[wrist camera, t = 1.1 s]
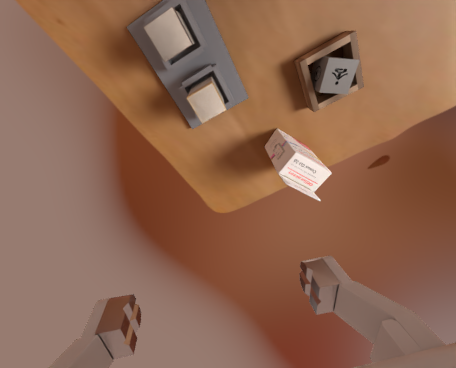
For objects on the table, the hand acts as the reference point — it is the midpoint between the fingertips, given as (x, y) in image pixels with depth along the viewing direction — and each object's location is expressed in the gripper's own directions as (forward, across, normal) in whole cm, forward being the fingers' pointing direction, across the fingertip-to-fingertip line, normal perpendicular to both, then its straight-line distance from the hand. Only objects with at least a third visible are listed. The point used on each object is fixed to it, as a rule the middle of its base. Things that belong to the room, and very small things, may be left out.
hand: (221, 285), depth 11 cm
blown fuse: (+33, +1, -16) cm, 37 cm away
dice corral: (+33, -24, -8) cm, 42 cm away
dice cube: (+33, -24, -8) cm, 42 cm away
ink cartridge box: (+36, -18, +5) cm, 40 cm away
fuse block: (+35, -1, -12) cm, 37 cm away
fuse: (+34, -2, -7) cm, 35 cm away
